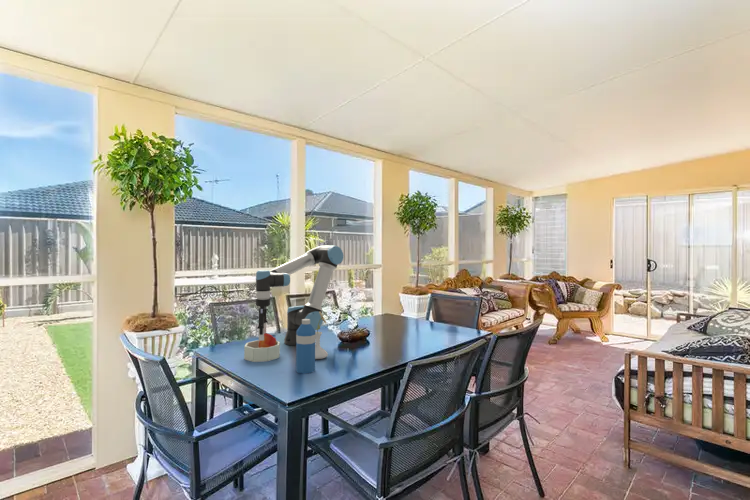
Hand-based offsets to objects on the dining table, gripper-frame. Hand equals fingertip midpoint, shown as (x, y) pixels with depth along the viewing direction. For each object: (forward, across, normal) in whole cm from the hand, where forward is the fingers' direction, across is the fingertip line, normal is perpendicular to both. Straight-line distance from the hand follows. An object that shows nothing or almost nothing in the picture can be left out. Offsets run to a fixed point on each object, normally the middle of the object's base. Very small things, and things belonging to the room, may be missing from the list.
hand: (262, 337), depth 207 cm
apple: (+8, 0, 0) cm, 8 cm away
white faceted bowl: (+11, 0, 0) cm, 11 cm away
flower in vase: (+11, +6, +30) cm, 32 cm away
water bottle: (+11, +27, +23) cm, 37 cm away
